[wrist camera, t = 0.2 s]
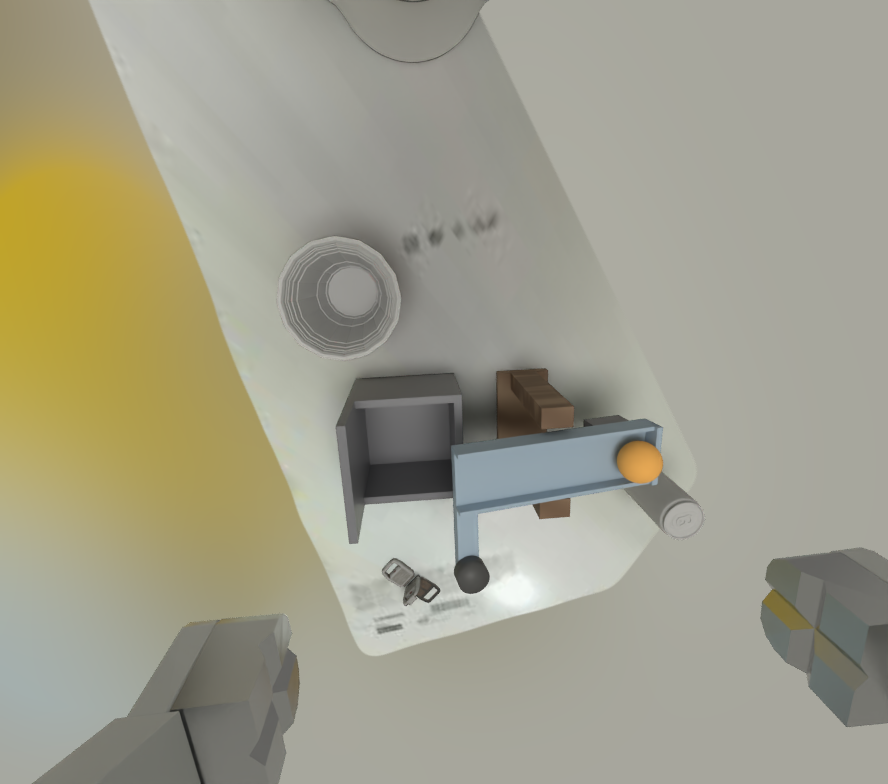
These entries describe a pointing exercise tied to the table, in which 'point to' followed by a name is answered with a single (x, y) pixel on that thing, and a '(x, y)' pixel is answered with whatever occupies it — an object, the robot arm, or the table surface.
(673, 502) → the beverage can
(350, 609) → the table surface
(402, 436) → the bin
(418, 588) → the grey hinged case
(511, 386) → the stand
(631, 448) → the ball
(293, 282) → the plastic cup
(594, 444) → the lever
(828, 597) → the robot arm
